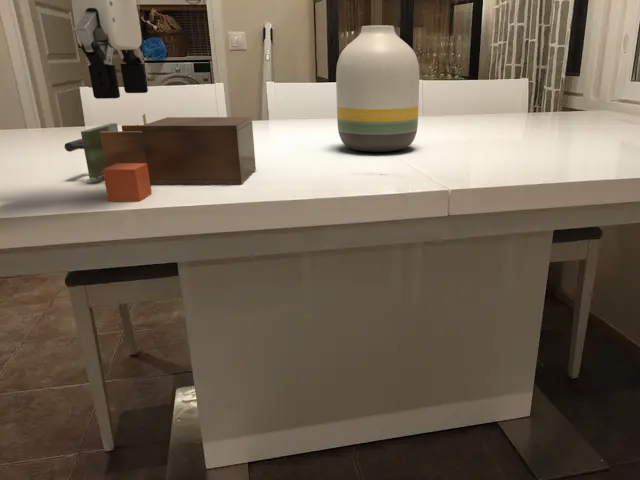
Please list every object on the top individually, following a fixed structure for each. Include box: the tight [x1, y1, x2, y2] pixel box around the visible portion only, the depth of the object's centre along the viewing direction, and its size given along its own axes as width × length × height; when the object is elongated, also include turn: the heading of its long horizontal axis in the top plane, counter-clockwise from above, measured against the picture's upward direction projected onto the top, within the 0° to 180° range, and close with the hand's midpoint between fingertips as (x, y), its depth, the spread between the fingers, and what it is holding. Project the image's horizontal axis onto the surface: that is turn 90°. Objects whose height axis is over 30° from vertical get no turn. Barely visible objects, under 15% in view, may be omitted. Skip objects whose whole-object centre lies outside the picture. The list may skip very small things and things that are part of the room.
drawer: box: [64, 122, 147, 179], centre depth 92 cm, size 18×10×7 cm, turn 89°
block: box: [103, 163, 153, 202], centre depth 79 cm, size 4×4×4 cm
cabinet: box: [141, 116, 257, 186], centre depth 91 cm, size 15×12×9 cm
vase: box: [335, 25, 420, 153], centre depth 114 cm, size 17×17×24 cm
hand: (122, 95), depth 76 cm, fingers open, 9 cm apart
